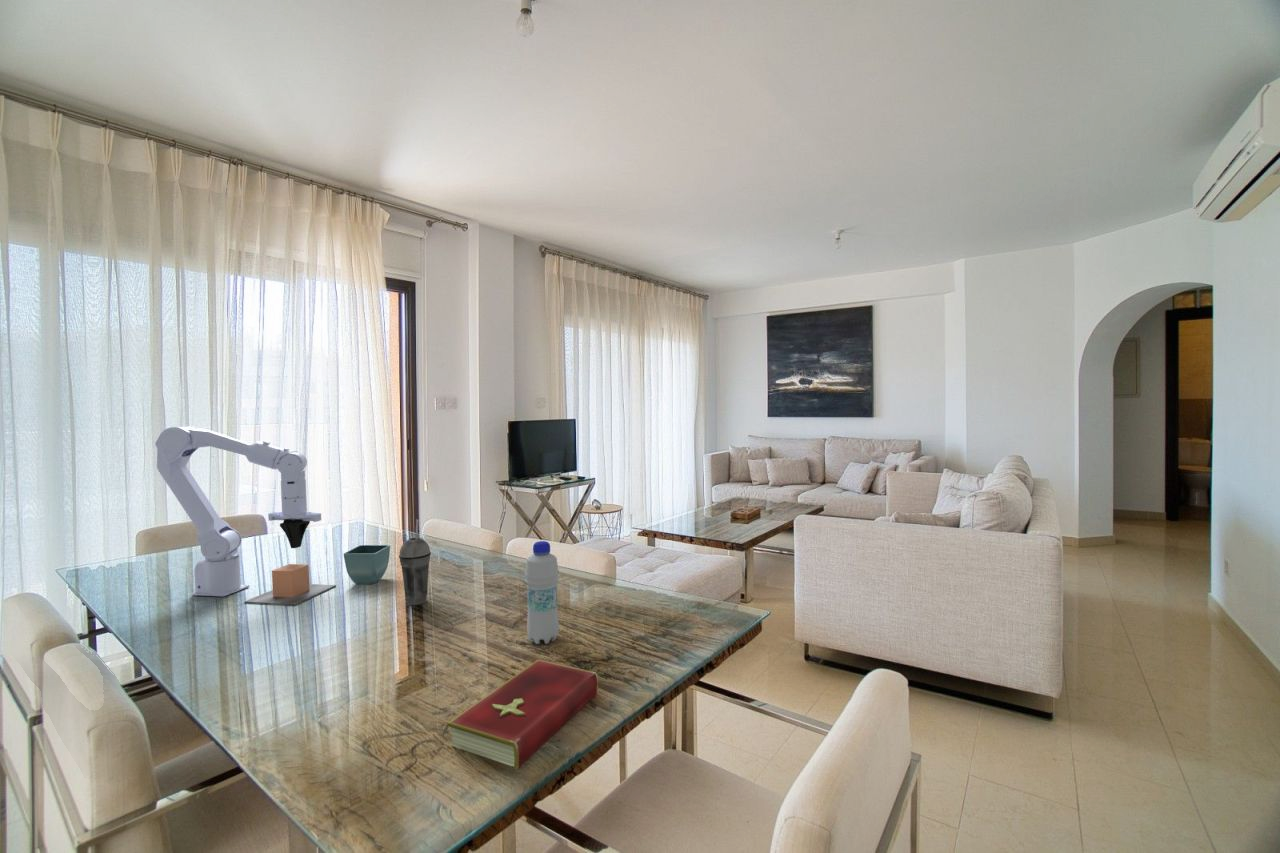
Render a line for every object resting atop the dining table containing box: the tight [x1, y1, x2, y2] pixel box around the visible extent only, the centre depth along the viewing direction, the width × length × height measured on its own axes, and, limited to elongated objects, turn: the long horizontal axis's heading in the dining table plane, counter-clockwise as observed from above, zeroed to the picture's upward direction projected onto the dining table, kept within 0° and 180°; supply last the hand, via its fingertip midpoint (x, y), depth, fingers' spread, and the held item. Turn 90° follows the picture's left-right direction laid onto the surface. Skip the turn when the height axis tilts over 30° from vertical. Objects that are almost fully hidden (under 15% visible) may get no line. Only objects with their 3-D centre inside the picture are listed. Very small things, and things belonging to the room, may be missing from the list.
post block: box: [244, 583, 337, 607], centre depth 142 cm, size 14×14×5 cm
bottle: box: [524, 540, 560, 645], centre depth 112 cm, size 7×7×20 cm
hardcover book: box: [446, 658, 600, 771], centre depth 85 cm, size 12×21×4 cm, turn 154°
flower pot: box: [343, 544, 391, 585], centre depth 152 cm, size 9×9×9 cm
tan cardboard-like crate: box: [271, 563, 310, 597], centre depth 142 cm, size 6×6×7 cm
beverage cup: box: [398, 518, 432, 606], centre depth 135 cm, size 7×7×20 cm
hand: (296, 547), depth 151 cm, fingers closed
